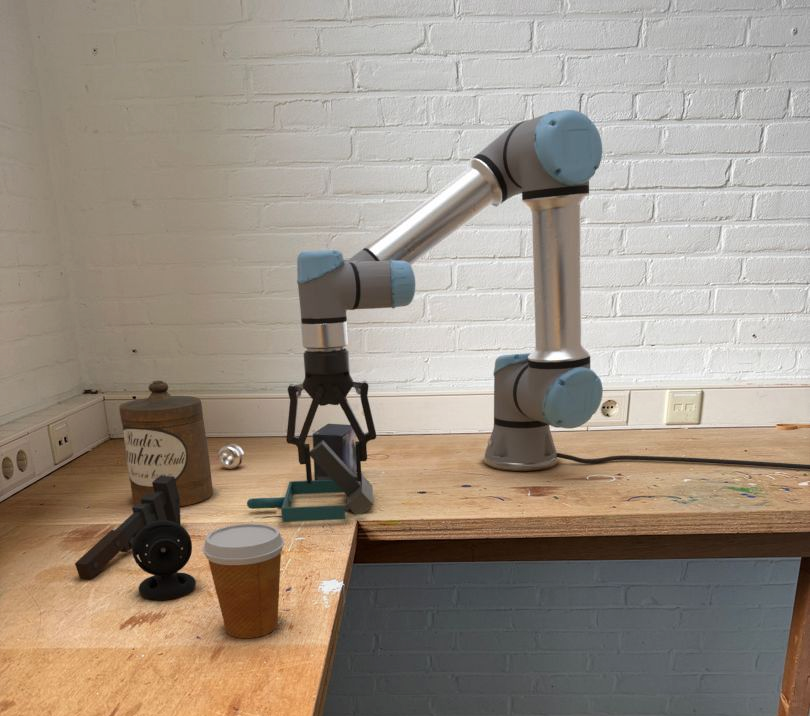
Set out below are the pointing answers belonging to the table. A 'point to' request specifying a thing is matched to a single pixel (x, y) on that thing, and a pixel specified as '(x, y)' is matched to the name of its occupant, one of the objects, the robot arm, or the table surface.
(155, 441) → the wooden container
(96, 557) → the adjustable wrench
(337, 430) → the small box
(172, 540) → the webcam
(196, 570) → the table surface
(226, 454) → the grooved metal pulley
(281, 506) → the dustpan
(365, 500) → the gray l-shaped block
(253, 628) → the disposable coffee cup
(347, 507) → the glossy brown capsule
